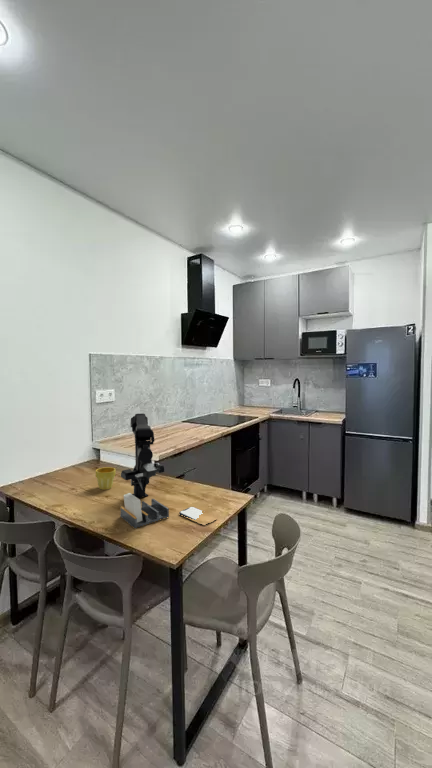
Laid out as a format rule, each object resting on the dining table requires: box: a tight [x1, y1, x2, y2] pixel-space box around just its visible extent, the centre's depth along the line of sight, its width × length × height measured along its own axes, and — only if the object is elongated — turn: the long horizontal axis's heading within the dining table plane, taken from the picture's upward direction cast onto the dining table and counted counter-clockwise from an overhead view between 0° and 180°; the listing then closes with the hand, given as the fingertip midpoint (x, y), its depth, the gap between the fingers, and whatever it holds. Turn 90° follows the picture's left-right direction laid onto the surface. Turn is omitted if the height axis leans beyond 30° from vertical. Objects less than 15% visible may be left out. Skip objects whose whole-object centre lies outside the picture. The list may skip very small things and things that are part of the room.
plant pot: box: [95, 466, 117, 491], centre depth 173 cm, size 10×10×10 cm
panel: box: [123, 492, 142, 523], centre depth 135 cm, size 10×3×9 cm, turn 39°
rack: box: [119, 498, 170, 529], centre depth 139 cm, size 14×16×4 cm
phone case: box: [178, 506, 203, 520], centre depth 139 cm, size 9×2×16 cm
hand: (143, 490), depth 142 cm, fingers closed
